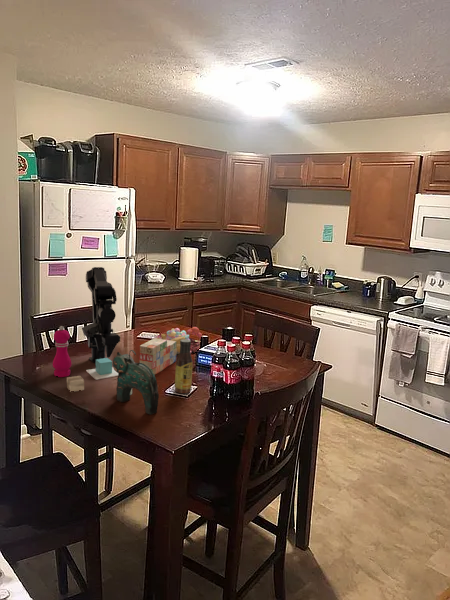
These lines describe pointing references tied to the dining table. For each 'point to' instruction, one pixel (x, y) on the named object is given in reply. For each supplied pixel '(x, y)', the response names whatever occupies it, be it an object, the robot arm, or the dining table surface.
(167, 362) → the stack of blocks
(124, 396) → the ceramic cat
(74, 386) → the birch block
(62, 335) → the pepper mill
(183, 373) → the sauce bottle
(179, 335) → the pastel sphere sculpture
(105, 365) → the teal block
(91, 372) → the white mat
